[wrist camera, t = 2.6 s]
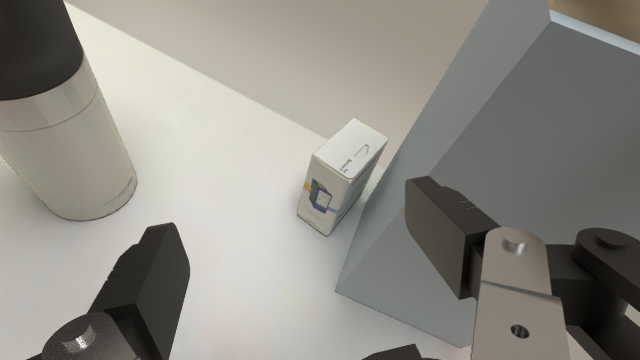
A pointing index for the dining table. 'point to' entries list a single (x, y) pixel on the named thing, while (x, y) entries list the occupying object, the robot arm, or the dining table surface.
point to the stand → (508, 155)
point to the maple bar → (604, 15)
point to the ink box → (339, 174)
